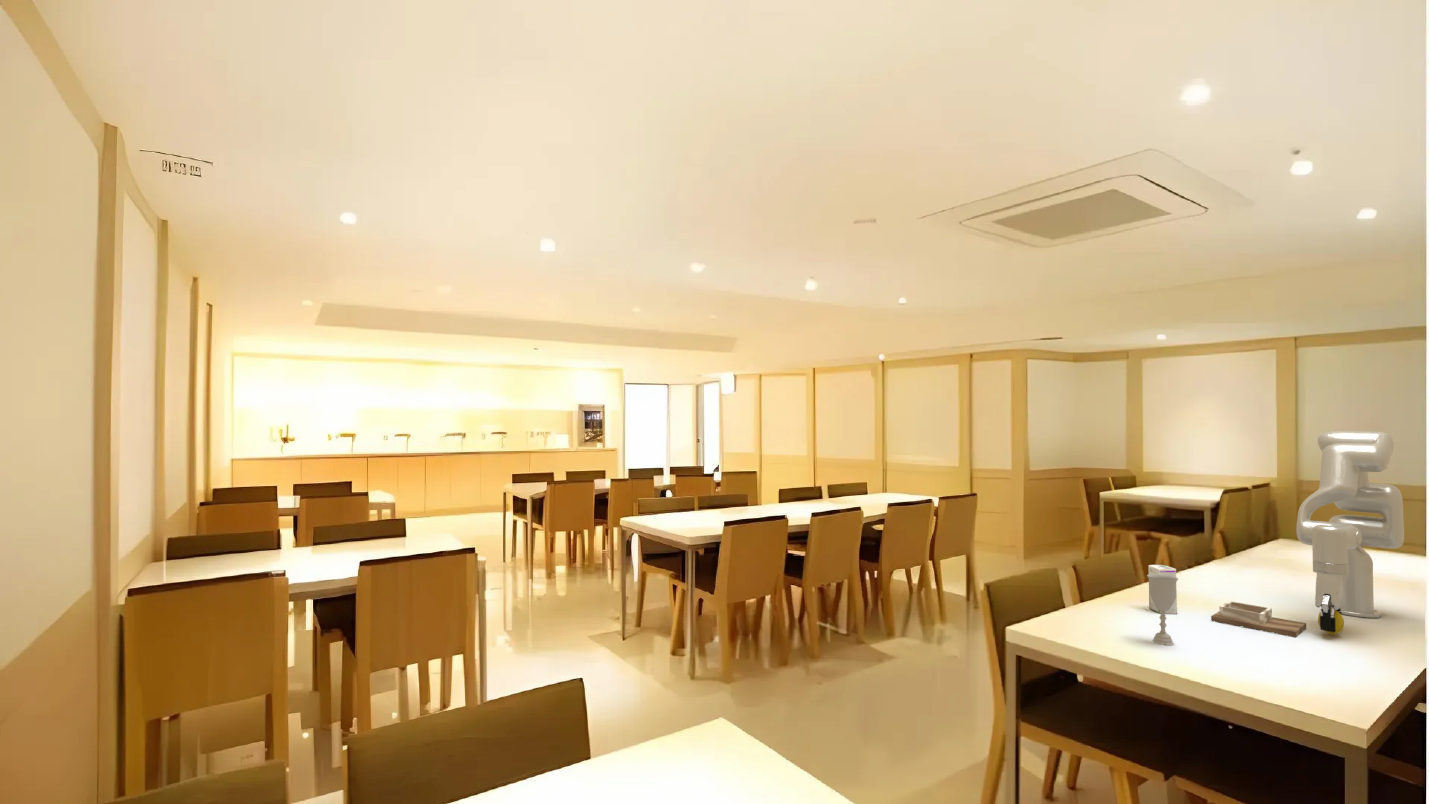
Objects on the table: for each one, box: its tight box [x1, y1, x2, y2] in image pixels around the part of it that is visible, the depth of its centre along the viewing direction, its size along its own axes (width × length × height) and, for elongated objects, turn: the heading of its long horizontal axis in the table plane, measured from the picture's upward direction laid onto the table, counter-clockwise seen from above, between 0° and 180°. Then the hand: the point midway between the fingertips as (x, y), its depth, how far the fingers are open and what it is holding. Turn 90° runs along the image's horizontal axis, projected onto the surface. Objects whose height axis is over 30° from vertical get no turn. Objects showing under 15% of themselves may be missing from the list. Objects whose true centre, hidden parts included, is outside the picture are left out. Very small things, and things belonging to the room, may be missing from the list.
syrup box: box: [1148, 564, 1178, 615], centre depth 217 cm, size 6×6×14 cm
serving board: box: [1210, 600, 1307, 638], centre depth 204 cm, size 14×20×4 cm
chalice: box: [1146, 573, 1179, 646], centre depth 186 cm, size 7×7×18 cm
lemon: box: [1317, 610, 1345, 636], centre depth 194 cm, size 6×6×8 cm
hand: (1331, 627), depth 194 cm, fingers open, 9 cm apart
